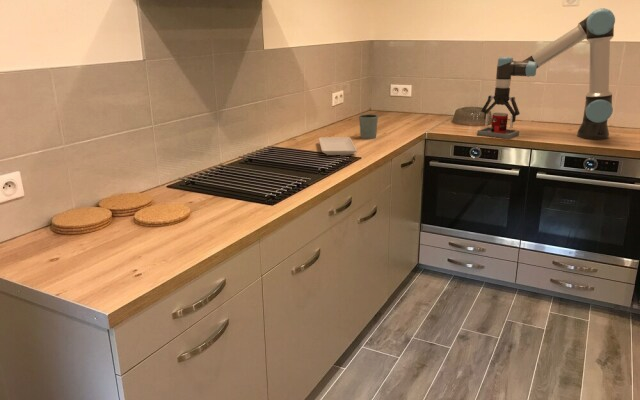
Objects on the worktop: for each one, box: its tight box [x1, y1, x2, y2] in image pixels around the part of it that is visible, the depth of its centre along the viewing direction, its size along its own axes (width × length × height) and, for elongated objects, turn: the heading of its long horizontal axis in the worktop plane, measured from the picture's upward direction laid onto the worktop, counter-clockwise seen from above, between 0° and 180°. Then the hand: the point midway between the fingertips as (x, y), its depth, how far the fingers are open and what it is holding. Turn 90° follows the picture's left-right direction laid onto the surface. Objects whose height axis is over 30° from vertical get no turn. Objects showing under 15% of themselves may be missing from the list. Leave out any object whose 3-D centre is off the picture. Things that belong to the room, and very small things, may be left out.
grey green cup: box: [358, 113, 379, 140], centre depth 284 cm, size 10×10×12 cm
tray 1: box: [318, 136, 358, 156], centre depth 260 cm, size 17×31×4 cm, turn 3°
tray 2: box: [476, 126, 520, 140], centre depth 288 cm, size 18×14×2 cm
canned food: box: [490, 112, 509, 134], centre depth 286 cm, size 8×8×11 cm
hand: (498, 126), depth 286 cm, fingers open, 13 cm apart
